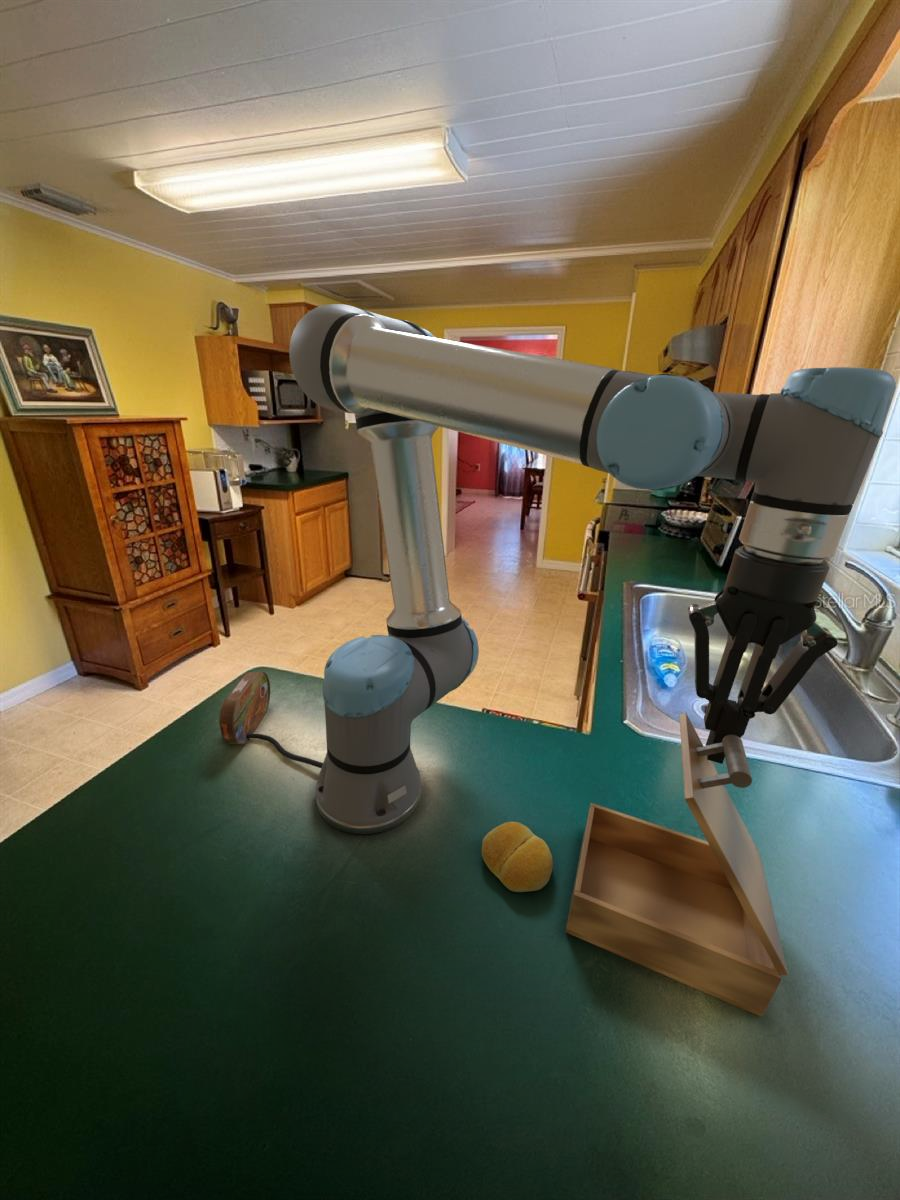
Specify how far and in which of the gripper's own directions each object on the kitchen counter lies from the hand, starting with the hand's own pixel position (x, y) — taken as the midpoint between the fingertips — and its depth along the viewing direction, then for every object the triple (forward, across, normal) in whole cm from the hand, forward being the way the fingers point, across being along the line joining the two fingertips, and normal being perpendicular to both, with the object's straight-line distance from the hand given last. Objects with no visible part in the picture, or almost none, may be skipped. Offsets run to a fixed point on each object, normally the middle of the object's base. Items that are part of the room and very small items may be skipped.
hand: (713, 754), depth 53 cm
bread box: (+19, -2, -6) cm, 20 cm away
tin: (+20, -69, -1) cm, 72 cm away
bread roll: (+20, -19, -7) cm, 28 cm away
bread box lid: (+5, +2, -6) cm, 8 cm away
